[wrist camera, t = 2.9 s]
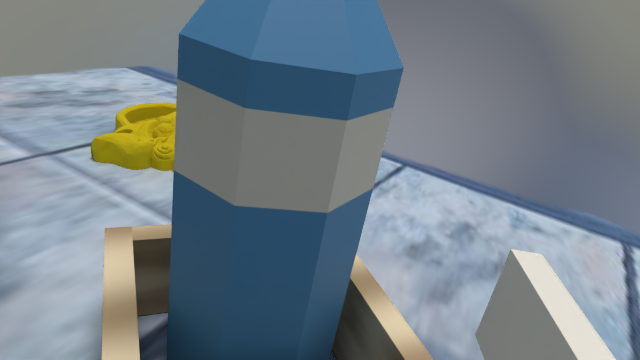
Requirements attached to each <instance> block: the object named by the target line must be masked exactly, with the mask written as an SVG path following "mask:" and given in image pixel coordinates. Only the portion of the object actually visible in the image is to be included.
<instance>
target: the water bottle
mask: <svg viewBox="0 0 640 360" xmlns="http://www.w3.org/2000/svg"><path fill="white" fill-rule="evenodd" d="M402 72H403V65H402V63H401V60H400V58H399V55H398V52H397V50H396V48H395V45H394V43H393V40H392V37H391V35H390V32H389V30H388V27H387V25H386V22H385V20H384V17H383V15H382V12H381V10H380V7H379V5H378V2H377V0H205V1H204V3H203V4H202V5H201V6H200V8H199V9H198V10H197V11H196V13H195V14H194V15H193V17H192V18H191V19H190V20H189V22H188V23H187V24H186V26H185V27H184V28H183V29H182V31H181V32H180V33H179V49H178V75H177V102H176V128H175V154H174V180H173V206H172V232H171V259H170V285H169V311H168V337H167V360H329V358H330V354H331V351H332V347H333V343H334V339H335V335H336V331H337V327H338V323H339V319H340V315H341V311H342V307H343V303H344V299H345V296H346V292H347V288H348V284H349V280H350V276H351V272H352V268H353V264H354V260H355V256H356V252H357V248H358V245H359V241H360V237H361V233H362V229H363V225H364V221H365V217H366V213H367V209H368V205H369V201H370V197H371V194H372V190H373V186H374V182H375V178H376V174H377V170H378V166H379V162H380V158H381V154H382V150H383V146H384V142H385V139H386V135H387V131H388V127H389V123H390V119H391V115H392V111H393V107H394V103H395V99H396V95H397V92H398V87H399V84H400V80H401V76H402Z"/></svg>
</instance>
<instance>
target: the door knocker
mask: <svg viewBox="0 0 640 360" xmlns="http://www.w3.org/2000/svg"><path fill="white" fill-rule="evenodd" d="M175 128H176V104H172V103H147V104H139V105H134V106H131V107H127V108H125V109H123V110H121V111H120V112H119V113H118V114H117V115H116V131H115V132H114V133H108V134H104V135H101V136H98V137H95V138H94V139H93V141H92V144H91V154H92V158H94V160H95V161H96V162H100V163H111V164H116V165H119V166H121V167H124V168H127V169H132V170H139V169H147V168H149V167H152V168H155V169H157V170H162V171H169V170H172V171H174V154H175Z"/></svg>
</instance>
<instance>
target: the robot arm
mask: <svg viewBox="0 0 640 360" xmlns="http://www.w3.org/2000/svg"><path fill="white" fill-rule="evenodd" d="M475 335H476V337H477V340H478V343H479V346H480V348H481V351H482V354H483V357H484V359H485V360H616V359H615V358H614V356H613V355H612V353H611V352H610V351H609V349H608V348H607V346H606V345H605V343H604V342H603V341H602V339H601V338H600V336H599V335H598V334H597V332H596V331H595V329H594V328H593V326H592V325H591V324H590V322H589V321H588V319H587V318H586V316H585V315H584V314H583V312H582V311H581V309H580V308H579V307H578V305H577V304H576V302H575V301H574V299H573V298H572V297H571V295H570V294H569V292H568V291H567V289H566V288H565V287H564V285H563V284H562V282H561V281H560V280H559V278H558V277H557V275H556V274H555V272H554V271H553V270H552V268H551V267H550V265H549V264H548V262H547V261H546V260H545V258H544V257H543V255H542V254H536V253H531V252H525V251H519V250H513V249H511V250H510V253H509V255H508V258H507V260H506V262H505V265H504V267H503V270H502V272H501V274H500V277H499V279H498V282H497V284H496V286H495V289H494V291H493V294H492V296H491V298H490V301H489V303H488V306H487V308H486V310H485V313H484V315H483V318H482V320H481V322H480V325H479V327H478V330H477V332H476V334H475Z"/></svg>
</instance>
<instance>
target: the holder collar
mask: <svg viewBox="0 0 640 360" xmlns="http://www.w3.org/2000/svg"><path fill="white" fill-rule="evenodd" d="M171 232H172V224H170V225H153V226H135V227H118V228H105V250H104V289H103V328H102V360H140V352H139V336H138V320H137V316H142V315H149V314H157V313H164V312H168V311H169V285H170V259H171ZM332 350H333V352H334V354H335V356H336V358H337V360H434V359H433V358H432V356H431V355H430V354H429V352H428V351H427V350H426V348H425V347H424V346H423V344H422V343H421V342H420V340H419V339H418V337H417V336H416V335H415V333H414V332H413V331H412V329H411V328H410V327H409V325H408V324H407V322H406V321H405V320H404V318H403V317H402V316H401V314H400V313H399V312H398V310H397V309H396V307H395V306H394V305H393V303H392V302H391V301H390V299H389V298H388V297H387V295H386V294H385V292H384V291H383V290H382V288H381V287H380V286H379V284H378V283H377V282H376V280H375V279H374V277H373V276H372V275H371V273H370V272H369V271H368V269H367V268H366V267H365V265H364V264H363V262H362V261H361V260H360V258H359V257H358V256H357V254H356V256H355V260H354V264H353V268H352V272H351V276H350V280H349V284H348V288H347V292H346V296H345V299H344V303H343V307H342V311H341V315H340V319H339V323H338V327H337V331H336V335H335V339H334V343H333V347H332Z"/></svg>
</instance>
